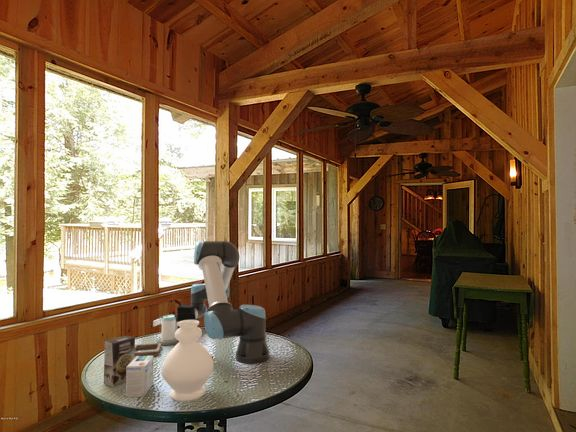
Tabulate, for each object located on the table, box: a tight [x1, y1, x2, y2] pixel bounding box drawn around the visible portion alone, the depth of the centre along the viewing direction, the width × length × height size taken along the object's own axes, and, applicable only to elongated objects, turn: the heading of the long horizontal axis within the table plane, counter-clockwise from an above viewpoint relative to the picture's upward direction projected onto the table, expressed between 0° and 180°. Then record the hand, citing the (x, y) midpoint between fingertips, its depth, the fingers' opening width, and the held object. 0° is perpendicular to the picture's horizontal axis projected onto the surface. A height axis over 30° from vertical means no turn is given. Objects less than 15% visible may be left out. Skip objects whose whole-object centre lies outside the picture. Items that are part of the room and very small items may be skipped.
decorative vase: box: [161, 319, 214, 402], centre depth 132 cm, size 18×18×25 cm
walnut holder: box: [135, 342, 162, 357], centre depth 174 cm, size 12×12×2 cm
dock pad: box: [155, 337, 177, 347], centre depth 190 cm, size 12×12×1 cm
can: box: [160, 314, 177, 341], centre depth 190 cm, size 7×7×12 cm
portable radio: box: [176, 303, 197, 345], centre depth 171 cm, size 8×6×25 cm
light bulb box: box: [125, 356, 154, 398], centre depth 134 cm, size 11×7×11 cm, turn 5°
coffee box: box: [103, 335, 136, 388], centre depth 142 cm, size 9×6×16 cm
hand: (165, 324), depth 187 cm, fingers open, 13 cm apart
